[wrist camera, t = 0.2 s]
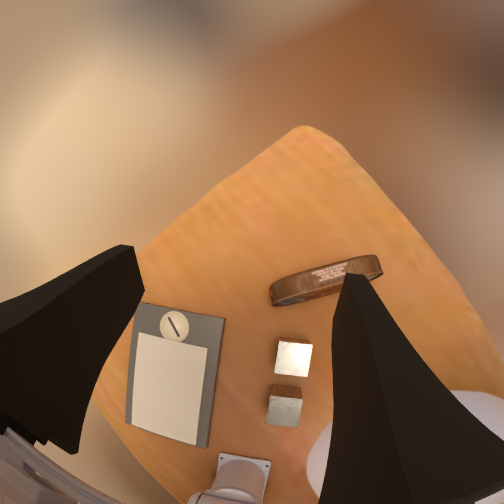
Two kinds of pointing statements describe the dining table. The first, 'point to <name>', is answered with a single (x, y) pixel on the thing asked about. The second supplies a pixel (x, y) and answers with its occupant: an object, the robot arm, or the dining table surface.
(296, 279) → the tin
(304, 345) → the block
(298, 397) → the block
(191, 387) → the scale
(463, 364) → the dining table surface
